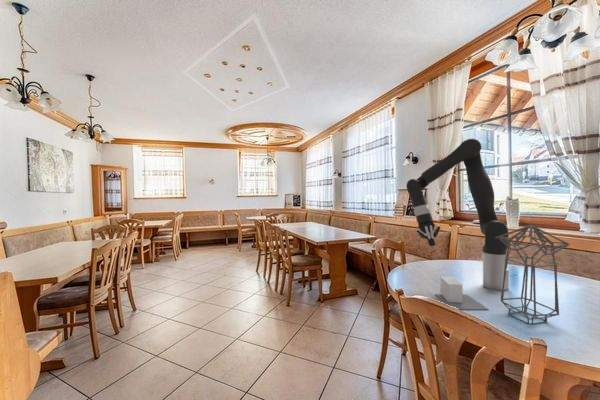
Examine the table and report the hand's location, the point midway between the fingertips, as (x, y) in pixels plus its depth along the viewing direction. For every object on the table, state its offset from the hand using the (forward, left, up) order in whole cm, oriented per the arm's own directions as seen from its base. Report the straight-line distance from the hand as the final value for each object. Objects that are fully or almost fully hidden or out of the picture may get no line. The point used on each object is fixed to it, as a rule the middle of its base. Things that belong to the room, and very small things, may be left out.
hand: (432, 246), depth 131 cm
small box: (0, +14, -15) cm, 21 cm away
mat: (-1, +23, -20) cm, 30 cm away
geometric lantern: (-18, +38, -20) cm, 46 cm away
